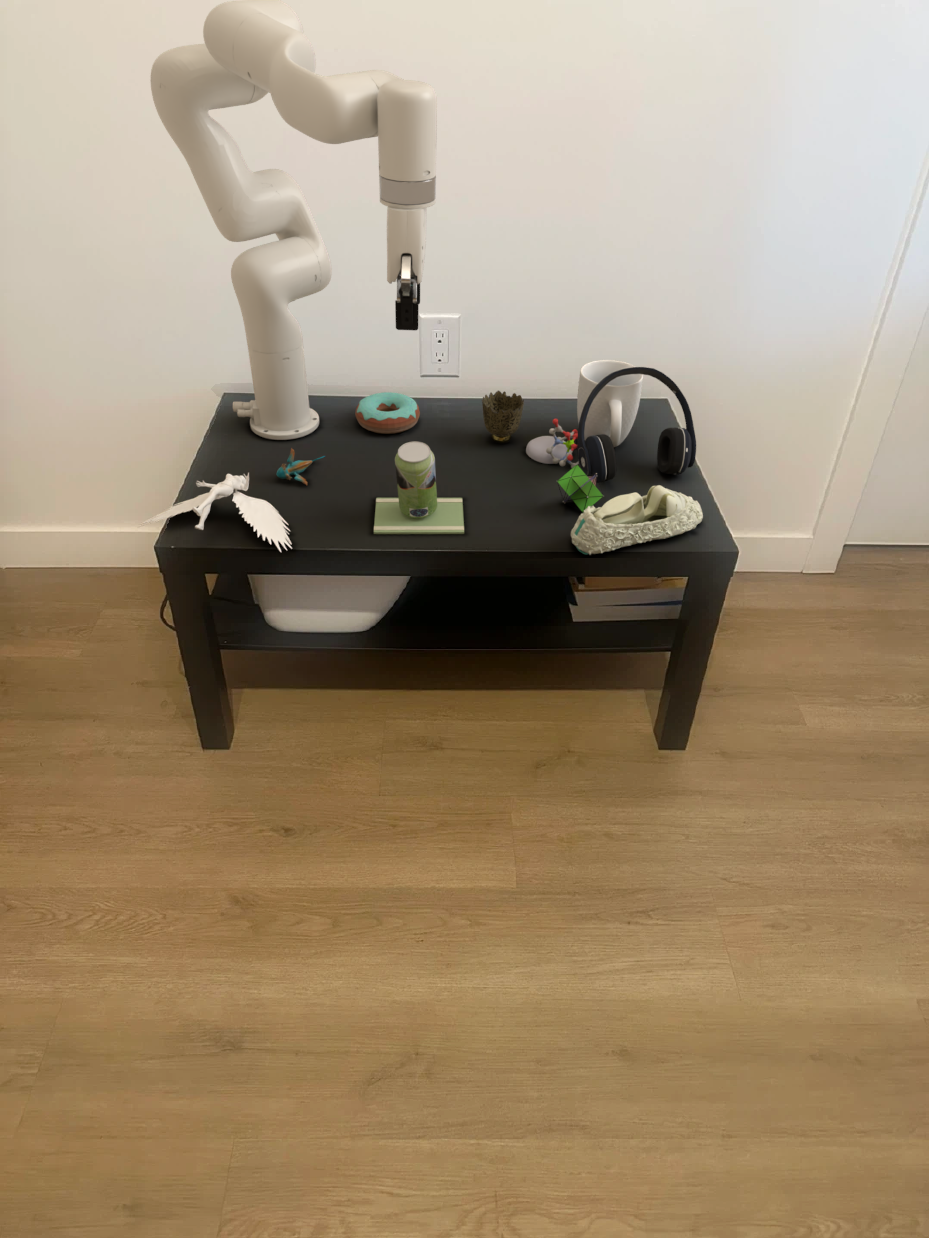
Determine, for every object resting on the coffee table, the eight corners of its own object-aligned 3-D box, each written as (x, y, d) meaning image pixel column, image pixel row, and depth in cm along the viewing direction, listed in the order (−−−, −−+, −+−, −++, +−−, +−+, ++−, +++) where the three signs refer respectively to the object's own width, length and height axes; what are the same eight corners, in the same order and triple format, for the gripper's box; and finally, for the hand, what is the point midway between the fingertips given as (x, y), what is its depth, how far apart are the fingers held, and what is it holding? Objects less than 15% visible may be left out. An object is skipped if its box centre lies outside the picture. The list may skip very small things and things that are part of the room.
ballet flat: (716, 530, 138) (728, 487, 132) (592, 572, 128) (600, 527, 123) (680, 502, 143) (691, 460, 138) (559, 541, 133) (565, 497, 128)
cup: (527, 436, 159) (530, 395, 154) (512, 453, 154) (514, 412, 149) (490, 427, 162) (492, 387, 157) (474, 444, 156) (475, 403, 151)
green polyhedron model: (591, 466, 133) (576, 451, 140) (557, 495, 135) (544, 478, 142) (617, 498, 137) (601, 481, 144) (583, 526, 138) (569, 508, 145)
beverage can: (439, 502, 140) (439, 435, 133) (433, 527, 135) (433, 459, 127) (400, 500, 141) (398, 433, 133) (394, 525, 135) (391, 456, 128)
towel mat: (373, 534, 134) (373, 531, 134) (376, 499, 142) (376, 497, 141) (464, 534, 134) (464, 531, 134) (462, 499, 142) (462, 497, 142)
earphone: (684, 473, 152) (678, 366, 149) (702, 472, 146) (697, 360, 143) (576, 484, 149) (568, 375, 146) (589, 484, 142) (581, 369, 139)
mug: (642, 466, 151) (654, 396, 143) (580, 466, 151) (588, 396, 143) (626, 426, 163) (637, 359, 155) (568, 426, 162) (575, 359, 154)
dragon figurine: (279, 452, 150) (266, 457, 143) (318, 438, 149) (306, 442, 142) (294, 488, 152) (282, 495, 144) (332, 473, 151) (322, 479, 143)
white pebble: (525, 452, 151) (525, 462, 152) (571, 455, 150) (570, 465, 152) (527, 430, 157) (526, 439, 158) (572, 433, 156) (570, 443, 158)
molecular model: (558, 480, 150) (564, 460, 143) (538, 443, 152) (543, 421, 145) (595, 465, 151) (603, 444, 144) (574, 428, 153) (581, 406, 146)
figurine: (112, 523, 127) (162, 530, 141) (269, 560, 123) (304, 564, 137) (128, 443, 126) (177, 458, 140) (287, 478, 122) (320, 490, 136)
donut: (350, 412, 165) (349, 392, 163) (411, 405, 168) (411, 385, 165) (362, 441, 157) (361, 421, 154) (426, 433, 159) (426, 413, 157)
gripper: (383, 172, 122) (385, 294, 133) (375, 207, 109) (379, 339, 120) (436, 174, 122) (434, 295, 134) (434, 209, 109) (433, 341, 120)
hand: (408, 316), depth 127 cm, fingers open, 9 cm apart
